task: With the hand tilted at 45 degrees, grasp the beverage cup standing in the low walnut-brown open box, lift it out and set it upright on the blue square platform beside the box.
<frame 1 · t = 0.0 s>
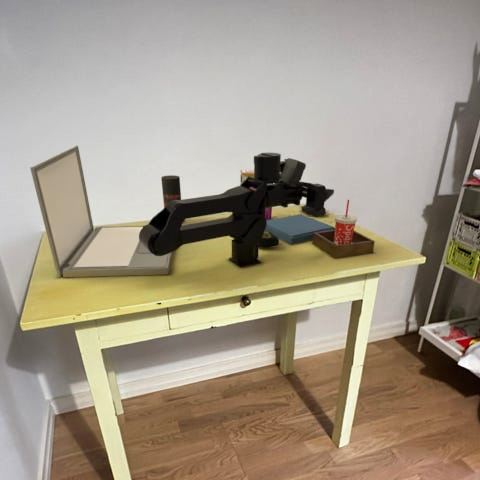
hand: (322, 188, 112), 17 cm above the table, tool horizontal, fingers open, 9 cm apart
open box: (341, 248, 118), on the table
deodorant: (174, 222, 140), on the table
tape measure: (266, 246, 119), on the table
gaming mouse: (311, 212, 151), on the table
laptop: (125, 251, 116), on the table
beverage cup: (341, 248, 118), resting in open box
candy bar box: (255, 220, 142), on the table
blue square platform: (296, 231, 131), on the table
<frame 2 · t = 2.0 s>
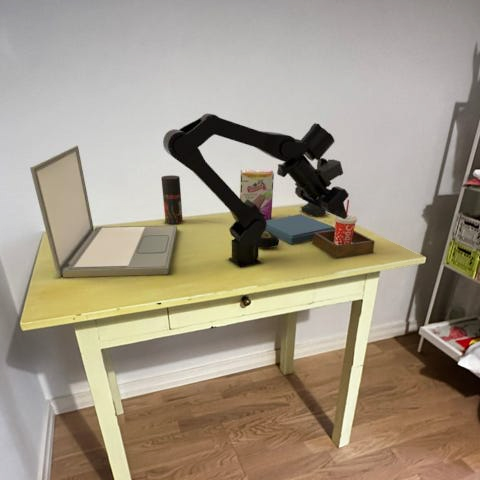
hand: (336, 213, 111), 11 cm above the table, tool tilted 45°, fingers open, 9 cm apart
nothing on the table moved.
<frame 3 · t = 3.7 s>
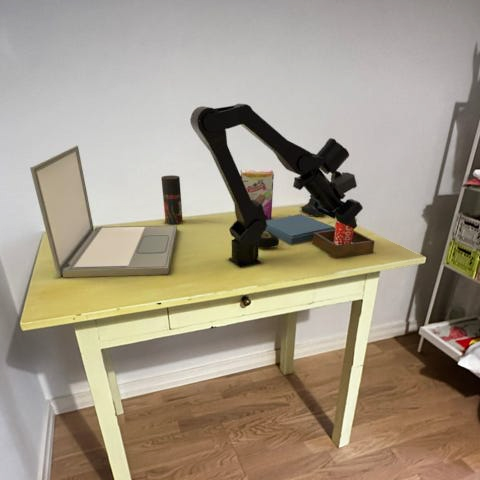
hand: (349, 224, 115), 7 cm above the table, tool tilted 45°, fingers closed on beverage cup, 6 cm apart
beverage cup: (341, 248, 118), resting in open box, touching gripper
everything else where it was.
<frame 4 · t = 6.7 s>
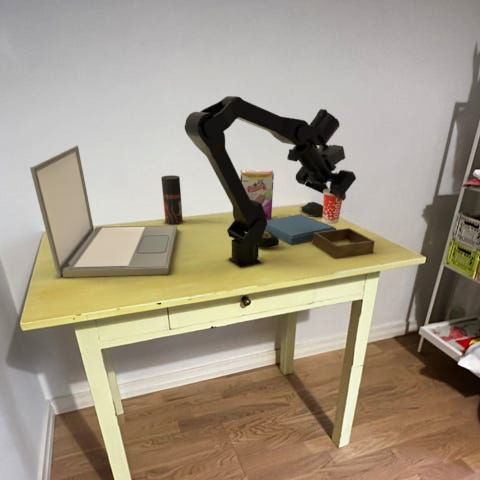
hand: (336, 196, 117), 13 cm above the table, tool tilted 45°, fingers closed on beverage cup, 6 cm apart
beverage cup: (330, 222, 120), point 6 cm above the table, touching gripper
everything else where it was.
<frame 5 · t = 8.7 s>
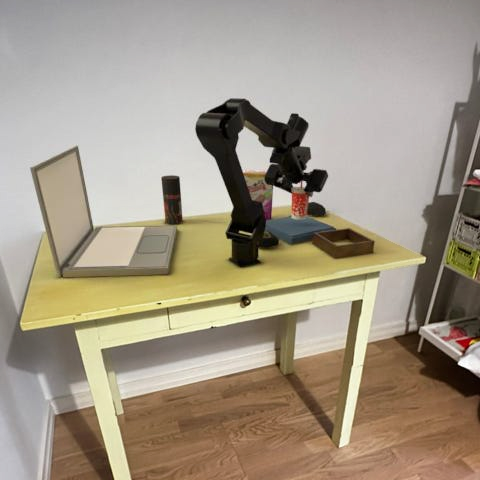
hand: (302, 194, 125), 12 cm above the table, tool tilted 45°, fingers closed on beverage cup, 6 cm apart
beverage cup: (298, 218, 128), point 5 cm above the table, touching gripper
everything else where it was.
when the fingers open (10 cm above the table, at t = 10.0 s): beverage cup stays where it is, resting on blue square platform.
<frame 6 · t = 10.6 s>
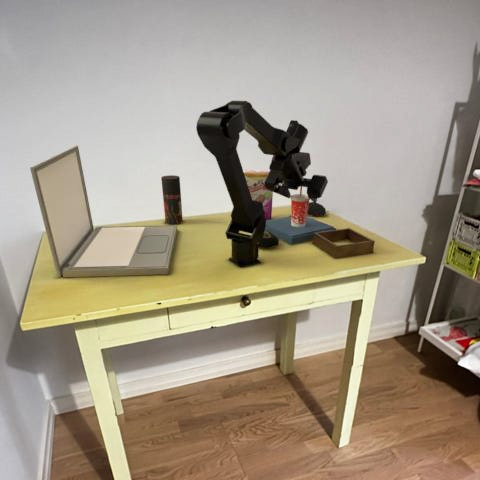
hand: (302, 199, 126), 10 cm above the table, tool tilted 45°, fingers open, 9 cm apart
beverage cup: (298, 225, 129), point 2 cm above the table, touching blue square platform
everything else where it was.
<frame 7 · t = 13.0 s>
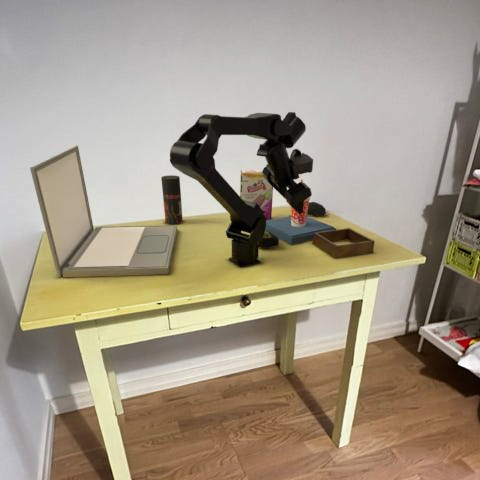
hand: (293, 205, 116), 11 cm above the table, tool tilted 30°, fingers open, 9 cm apart
nothing on the table moved.
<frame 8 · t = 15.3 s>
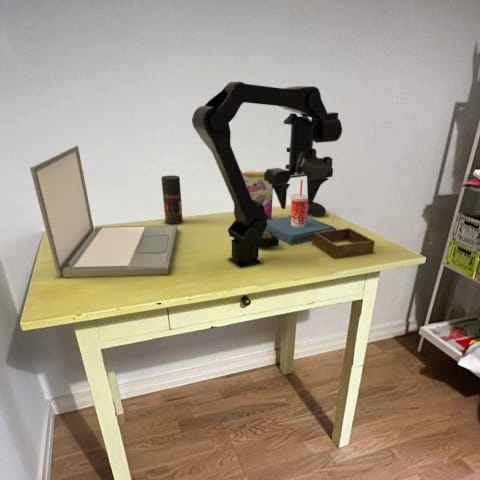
hand: (296, 206, 109), 13 cm above the table, tool pointing down, fingers open, 9 cm apart
nothing on the table moved.
at the end: beverage cup inside the target area on the blue square platform (1.1 cm from its centre), point 2.3 cm above the blue square platform's base; beverage cup tilted 0°; the gripper is holding nothing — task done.
